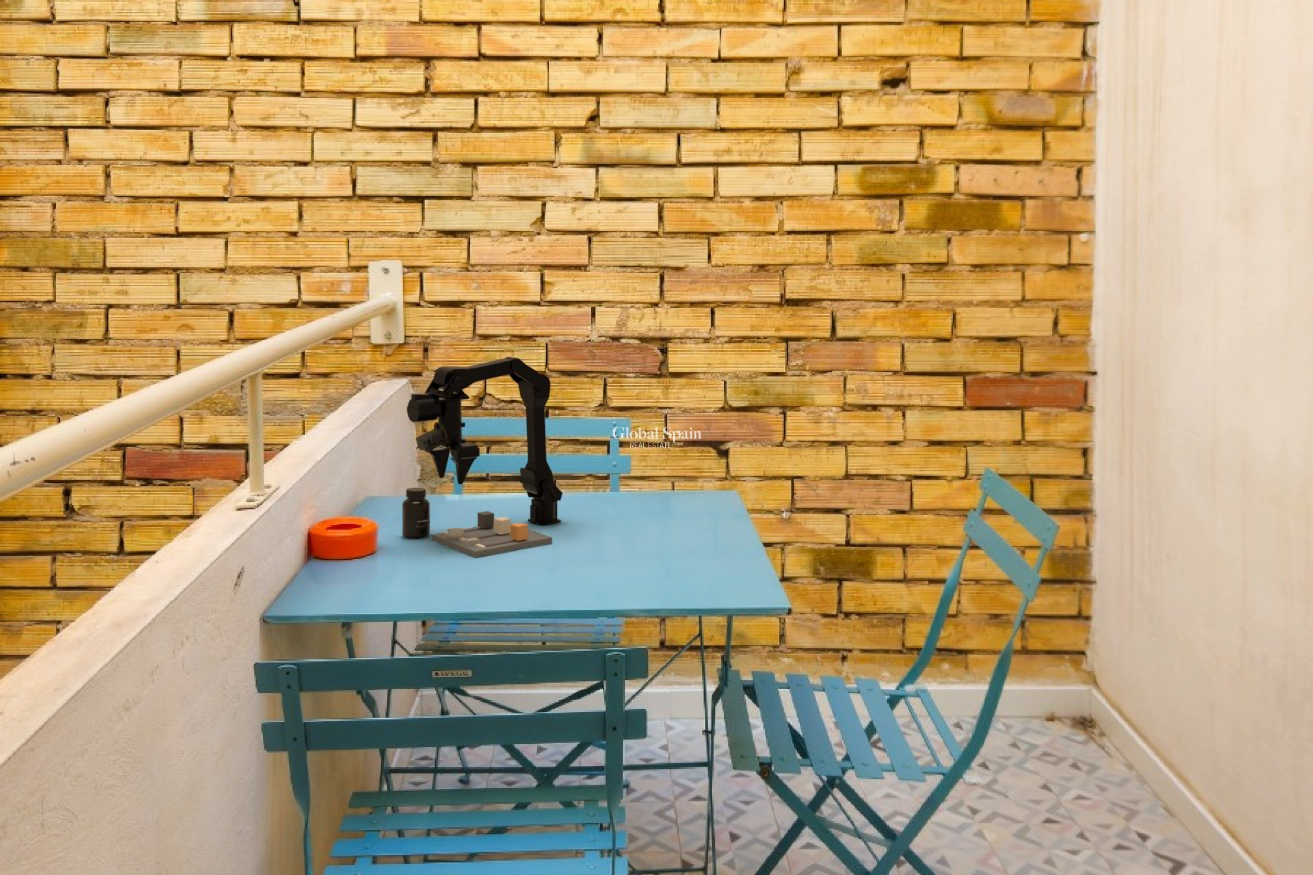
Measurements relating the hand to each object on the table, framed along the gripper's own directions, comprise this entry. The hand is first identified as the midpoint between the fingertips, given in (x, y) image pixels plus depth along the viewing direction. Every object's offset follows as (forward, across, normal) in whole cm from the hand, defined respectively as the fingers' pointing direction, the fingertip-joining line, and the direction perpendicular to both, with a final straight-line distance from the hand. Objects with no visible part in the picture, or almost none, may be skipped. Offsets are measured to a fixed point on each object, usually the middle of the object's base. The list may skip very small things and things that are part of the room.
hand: (450, 480), depth 304 cm
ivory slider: (+13, +9, +9) cm, 18 cm away
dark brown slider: (+13, +1, +9) cm, 16 cm away
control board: (+15, +9, +6) cm, 18 cm away
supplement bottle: (+15, -7, -6) cm, 17 cm away
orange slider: (+13, +16, +9) cm, 23 cm away
